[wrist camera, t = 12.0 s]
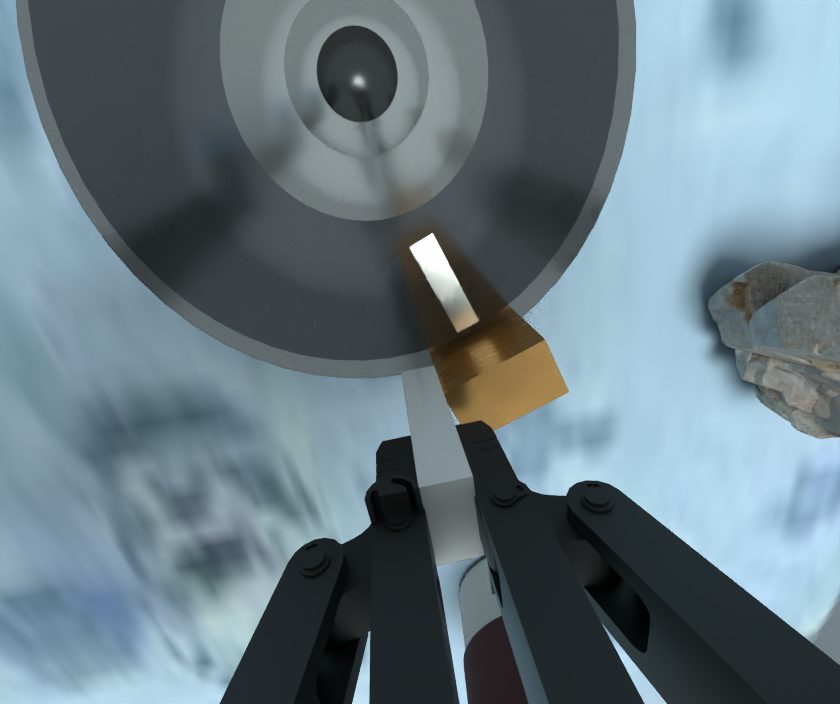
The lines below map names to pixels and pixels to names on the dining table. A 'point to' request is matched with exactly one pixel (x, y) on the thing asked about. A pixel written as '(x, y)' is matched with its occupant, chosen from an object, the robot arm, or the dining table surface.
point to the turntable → (328, 235)
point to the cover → (356, 97)
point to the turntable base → (349, 367)
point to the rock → (786, 341)
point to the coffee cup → (487, 644)
